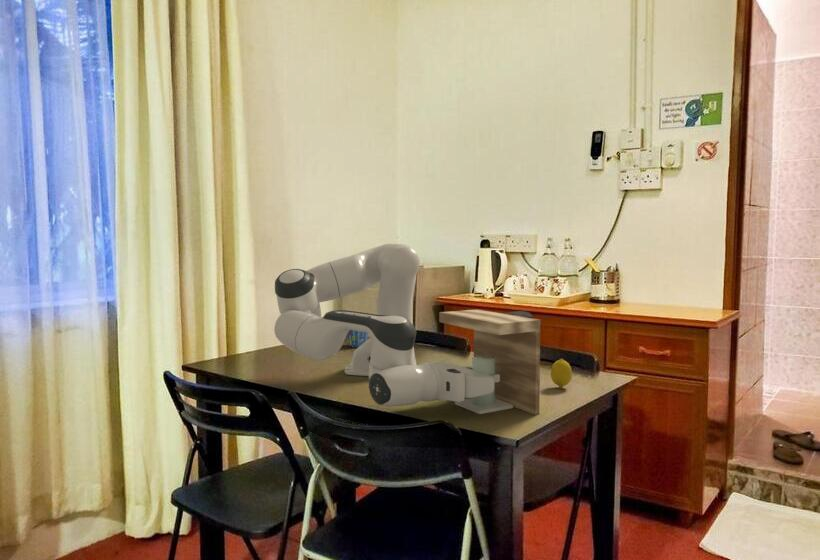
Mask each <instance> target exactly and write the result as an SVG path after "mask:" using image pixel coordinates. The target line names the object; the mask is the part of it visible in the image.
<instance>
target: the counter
mask: <svg viewBox="0 0 820 560" xmlns="http://www.w3.org/2000/svg"><path fill="white" fill-rule="evenodd" d="M438 315H439V317H438V319H439V321H438V322H439V323H442V324H446V325H452V326H456V327H460V328H464V329H469V330H472V331H473V357H475V356H491V357H494V358H495V374H498V375H500V381H499V382H496V383H495V404H494V405H490V406H479V405H475V404H473V403H472V398H465V399H464V401H462V402H454V405H456V406H459V407H461V408H463V409H466V410H468V411H471V412H474V413H475V414H477V415H482V414H489V413H493V412H499V411H505V410H509V409H514V408H516V409H518V410H521V411H524V412H527V413H530V414H532V415H535V416H536V415H540V395H541V394H540V391H541V390H540V388H541V387H540V386H541V384H540V383H541V380H540V379H541V376H540V375H541V319H538V318H533V317H532V318H526V317H520V316H514V315H508V314H504V313H503V312H496V311H490V310H483V309H477V308H476V309H466V310H453V311H452V310H451V311H439V312H438Z"/></svg>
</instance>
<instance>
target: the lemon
mask: <svg viewBox="0 0 820 560" xmlns="http://www.w3.org/2000/svg"><path fill="white" fill-rule="evenodd" d="M572 375H573V372H572V367H571V365H570V363H569V362H567V361H566V360H564V359H563V358H559V360H556V361H555V362H554V363H552V366H551V370H550V378H551V381H552V382H553V383H554V384H555V385H556V386H558V388H561V389H562V388H564V387H565V386H568V384H569V383H570V382H571V380H572V377H573V376H572Z"/></svg>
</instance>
